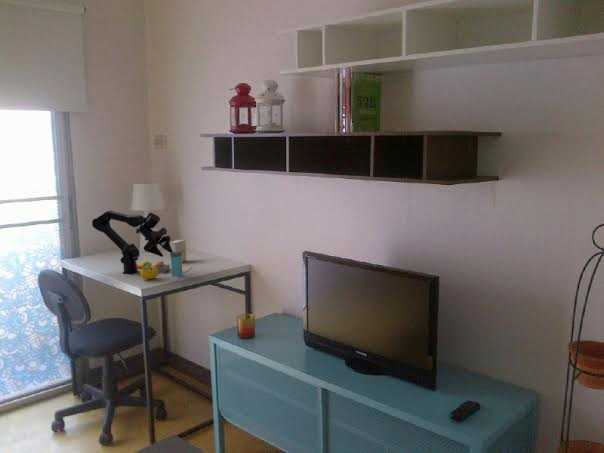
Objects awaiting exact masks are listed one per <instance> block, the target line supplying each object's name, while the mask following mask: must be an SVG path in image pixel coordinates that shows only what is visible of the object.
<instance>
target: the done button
mask: <svg viewBox="0 0 604 453" xmlns="http://www.w3.org/2000/svg"><path fill="white" fill-rule="evenodd" d="M164 264H165V262H164V260H156V261H155V265H156V267H163V266H164Z"/></svg>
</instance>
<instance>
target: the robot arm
mask: <svg viewBox="0 0 604 453" xmlns="http://www.w3.org/2000/svg"><path fill="white" fill-rule="evenodd" d="M111 220H114V221H117V222H122V223H126V224H127V225H128V226H129V227H132V228H136V231H135V232H136V234H137V235H138V234H141V235H142V236H143V238H144V241H145V242H146V244H144V246H143V250H144V251H145V253H146V252H148V253H150V254H153V255H156V256H159V257H161V258H163V257H164V254H163V252H162V251H161V250H160V249H159V248H158V245H159V246H160V247H161V248H163V249H164V250H166V251H167V252H169V253H172V252H173V251H172V249H171V246H170V242H171V240H172V237H170V235H167V234H168V229H167V228H165V227H162V228H160V229H159V230H157V231H156V230H153V229H154V228H156V226H157V225H158V223H159V222H160V221H161V218H160V217H159V215H156V214H155V213H153V212H149V213H148V214H147V216H146V217H144V216H143V215H139V214H133V215H132V214H130V215H129V214H125V213H122V212H117V211H113V210H107V211H104V213H103V214H101V215H99V216H98V217H95V218H93V219H92V222H91V226H92V228H94V229H96V230H97V232H101V233H104V235H105V236H106V237H107V238H108V239H109V240H110V241H111V242H113V244H114V245H116V246H117V247H118V248H119V249H120V250H121V251H120V252H121V255H122V257H121V258H120V260H119V261H120V263H121V264H122V265H123V272H122V274H125V275H126V274H130V275H133V274H135V273H138V271H139V269H137V267H136V265H138V264H137V261H138V259H139V257H140V254H141V253H140V250H139V247H137V246H136V245H135V244H134V243H131V244H129V243H128V242H126V241H125V239H123V238H122V237H121V235H119V234H118V233H117V231H115V230H114V229H113V228H112V227H111V222H110V221H111Z"/></svg>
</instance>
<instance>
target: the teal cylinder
mask: <svg viewBox="0 0 604 453" xmlns="http://www.w3.org/2000/svg"><path fill="white" fill-rule="evenodd" d="M169 253H170V252H169ZM181 256H182V254H181V252H172V253H170V261H171V262H170V263H171V265H170V268H171V269H172V272H171V276H172V277H173V278H179V277H182V276H183V272H182V267H183V262H182V259H181Z"/></svg>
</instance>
